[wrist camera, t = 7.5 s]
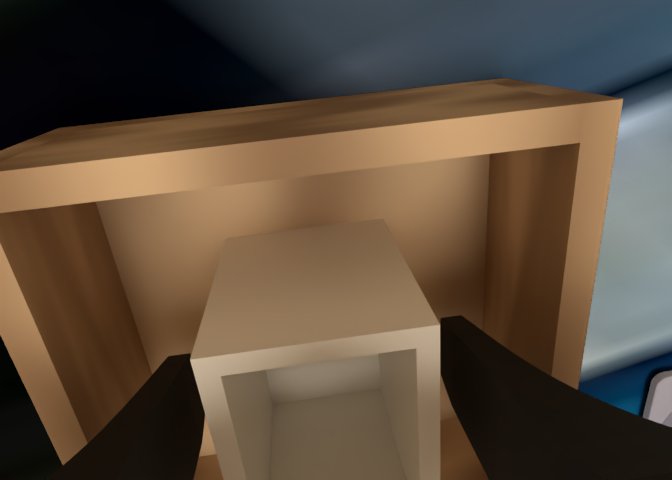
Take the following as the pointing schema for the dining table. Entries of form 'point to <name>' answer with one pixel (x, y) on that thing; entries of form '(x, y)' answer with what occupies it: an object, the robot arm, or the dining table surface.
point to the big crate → (297, 213)
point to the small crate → (320, 358)
